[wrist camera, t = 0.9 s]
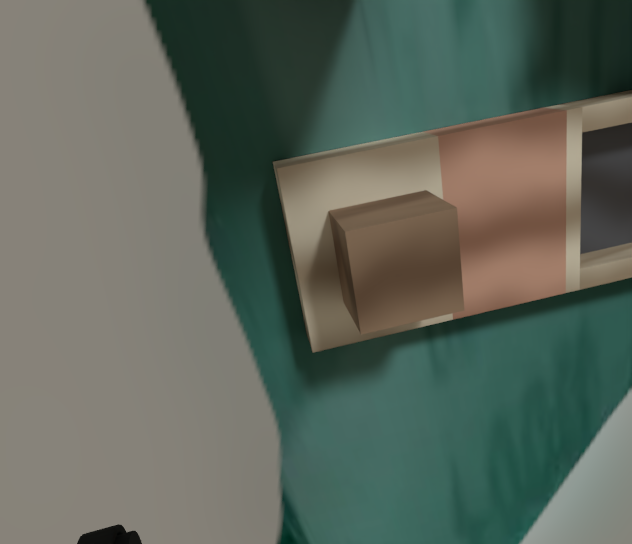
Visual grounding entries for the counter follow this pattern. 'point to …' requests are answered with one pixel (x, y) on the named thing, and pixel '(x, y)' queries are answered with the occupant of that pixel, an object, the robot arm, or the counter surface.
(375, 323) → the walnut block
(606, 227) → the trap deck
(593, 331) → the counter surface
